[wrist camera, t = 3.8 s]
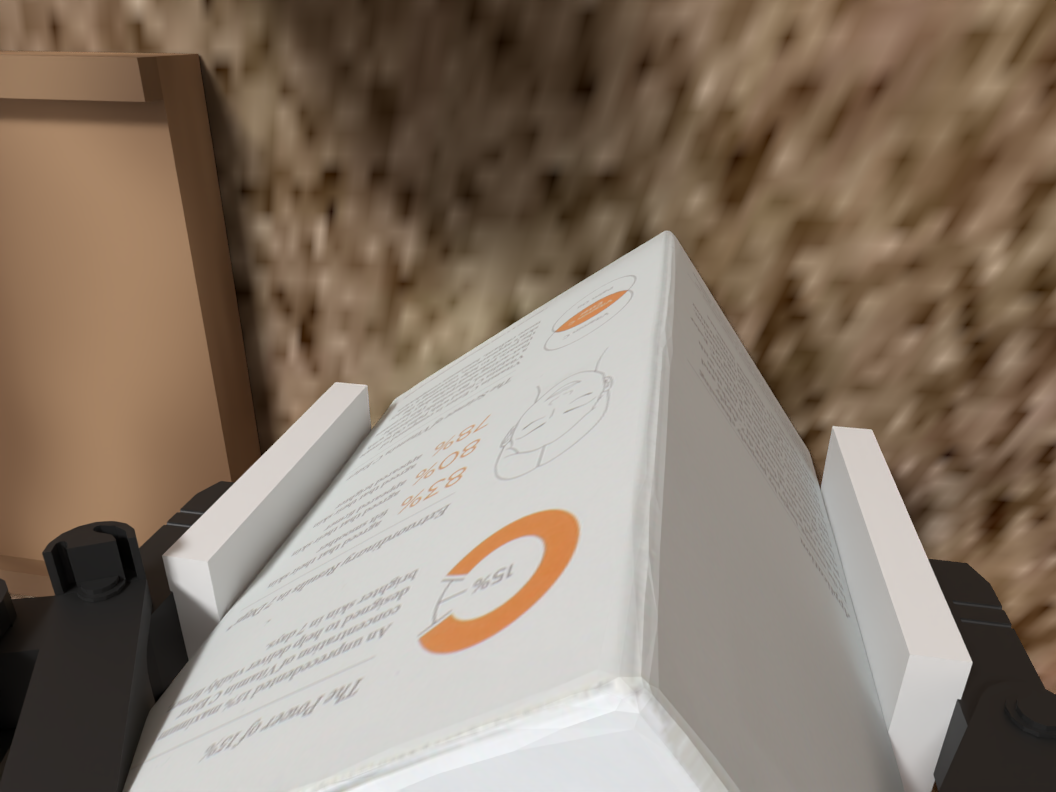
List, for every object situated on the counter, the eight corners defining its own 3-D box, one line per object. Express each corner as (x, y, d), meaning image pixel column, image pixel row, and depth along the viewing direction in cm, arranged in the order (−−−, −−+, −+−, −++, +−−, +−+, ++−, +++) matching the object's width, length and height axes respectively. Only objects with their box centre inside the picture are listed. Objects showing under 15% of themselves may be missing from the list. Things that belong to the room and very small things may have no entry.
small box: (535, 582, 21) (340, 1250, 10) (390, 396, 20) (-49, 929, 8) (820, 452, 18) (1036, 1211, 7) (675, 218, 17) (622, 674, 5)
